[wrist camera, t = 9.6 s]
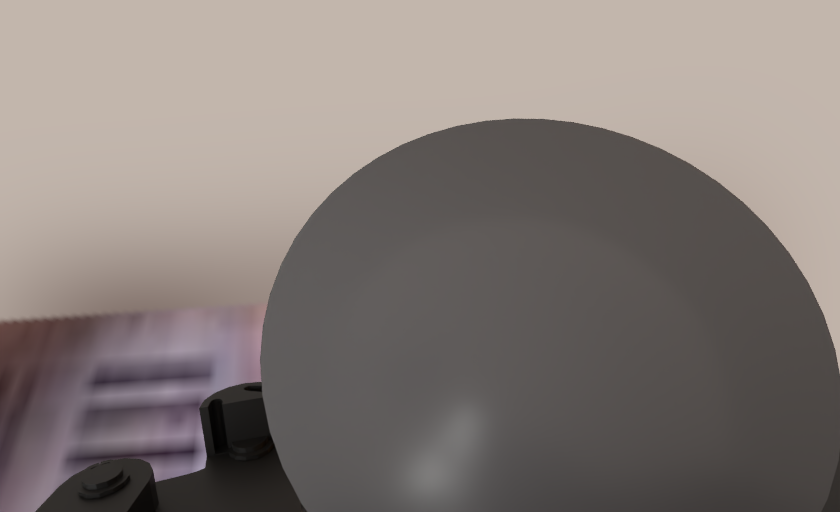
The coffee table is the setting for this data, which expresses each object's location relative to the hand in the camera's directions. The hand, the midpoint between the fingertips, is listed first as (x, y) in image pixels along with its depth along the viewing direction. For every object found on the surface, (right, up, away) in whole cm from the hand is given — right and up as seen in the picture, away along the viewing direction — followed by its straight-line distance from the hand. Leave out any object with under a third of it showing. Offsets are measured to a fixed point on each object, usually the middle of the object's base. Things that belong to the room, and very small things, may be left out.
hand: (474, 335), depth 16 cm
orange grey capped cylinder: (0, -6, +3) cm, 6 cm away
